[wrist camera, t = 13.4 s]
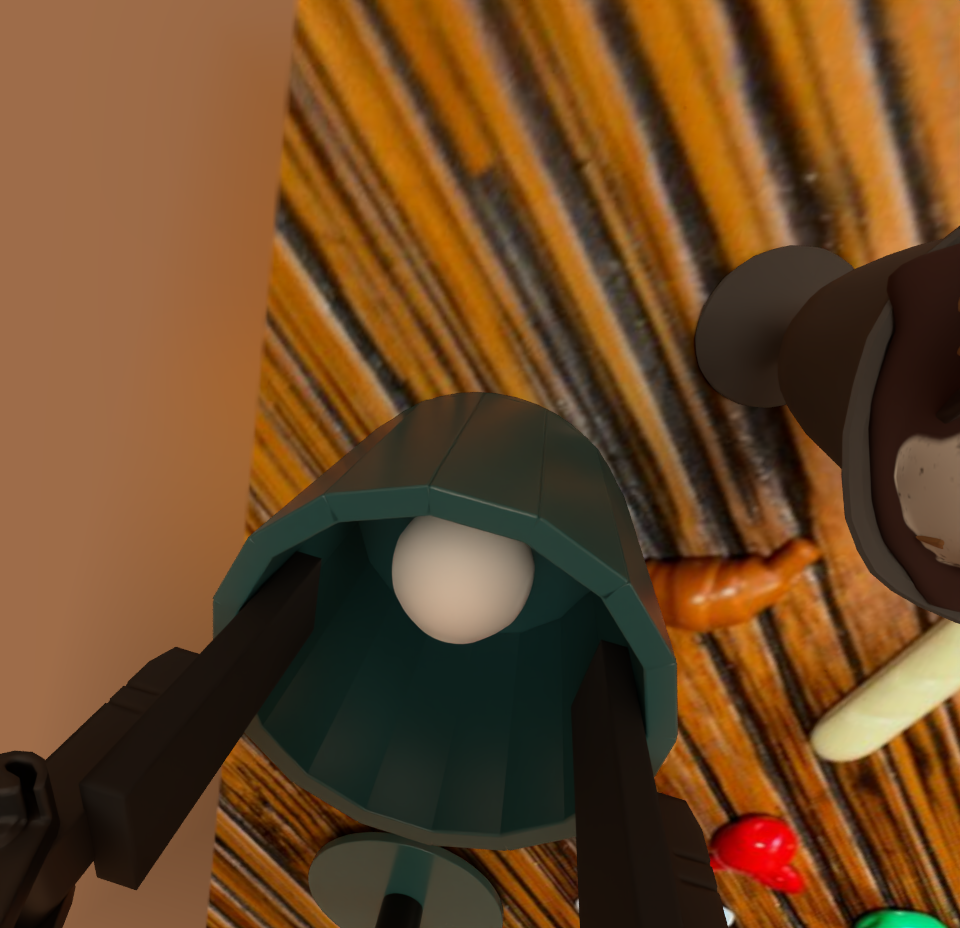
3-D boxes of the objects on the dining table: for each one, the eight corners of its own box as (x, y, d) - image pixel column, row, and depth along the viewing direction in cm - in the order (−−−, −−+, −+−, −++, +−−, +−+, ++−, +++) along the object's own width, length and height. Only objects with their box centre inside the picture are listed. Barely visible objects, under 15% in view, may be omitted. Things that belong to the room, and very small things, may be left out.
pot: (336, 596, 22) (212, 776, 14) (368, 356, 17) (210, 423, 9) (573, 666, 21) (584, 896, 13) (670, 438, 16) (775, 582, 9)
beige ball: (408, 565, 20) (364, 652, 15) (423, 462, 18) (377, 527, 13) (522, 593, 19) (512, 691, 15) (549, 491, 17) (547, 567, 13)
